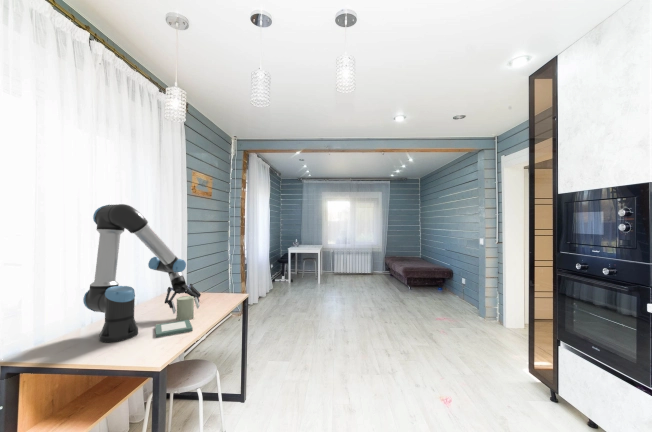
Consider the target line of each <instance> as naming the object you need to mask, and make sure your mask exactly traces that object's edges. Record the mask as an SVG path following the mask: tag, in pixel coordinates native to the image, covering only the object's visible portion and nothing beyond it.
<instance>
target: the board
mask: <svg viewBox="0 0 652 432" xmlns="http://www.w3.org/2000/svg"><path fill="white" fill-rule="evenodd" d="M154 329H155V338H161V337H166V336H171V335H178V334H183V333H189V332H193V326H192V323H191V322H190V319H188V320H177V321H170V322H164V323H158V324H155V327H154Z"/></svg>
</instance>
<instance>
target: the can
mask: <svg viewBox="0 0 652 432" xmlns="http://www.w3.org/2000/svg"><path fill="white" fill-rule="evenodd" d="M194 299H195V298H194V297H193V296H190V295H185V296H184V295H183V296H178V297H177V298H176V320H177V321H182V320H191V319H193V318H194V317H195V314H194V310H195V309H194V306H195V305H194V304H195V301H194Z"/></svg>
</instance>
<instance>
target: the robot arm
mask: <svg viewBox="0 0 652 432" xmlns="http://www.w3.org/2000/svg"><path fill="white" fill-rule="evenodd" d="M92 219H93V223H95V225H96V231H97V232H98V233H99V239H98V245H97V246H98V247H97V254H96V255H97V256H96V264H95V272H94V281H93V282H92V283H91V284H89V289H88V290H87V291H86V292H85V293H84V295H83V300H82V302H83V304H84V306H85V308H86V309H88V310H90V311H93V312H95V313H104V323H103V327H102V329H101V331H100V334H99V341H100V342H102V343H115V342H116V343H117V342H121V341H125V340H129V339H132V338H135V337H136V336H138V334H139V327H138V325H137V322H136V319H135V302H136V301H135V300H136V298H135V297H136V294H135V292H136V291H135V289H134V288H133V287H132V286H130V285H120V284H119V282H118V281H116V278H117V277H116V276H117V269H118V259H119V249H120V240H121V234H123V233H124V232H125V230H127V231H128V232H129V234H134V235H135V236H136V237H137V238H138V239H139V240H140V241H141V242H142V243H143V244H144V245H145V246H146V247H147V248H148V249H149V251H151V253H152V254H153V255H154V256H153V257H151V258H150V259H149V261H148V263H147V265H148V266H147V267H148V268H149V269H150V270H153V271H158V272H163V273H166V274H168V277H169V280H170V283H171V286H172V287H170V286H169V287H168V288H167V290H166V292H167V293H166V296H165V300H164V304H167V305H168V306H169V308H170V309H171V310H172V311H171V312H172V314H173V315H174V314H175V313H177V308H176V305H175V302H174V299H175V296H176V295H177V294H179V295H180V294H187V295H188V296H193V297H194V304H195V307H196V309H197V310H198V309H200V299H199V298H201V295H202V294H201V293H200V292H199V290H198V289H196V288H195V287H194V286H193V284H192V283H190V284H187V283H186V279H185V276H184V272H183V271H184V270H185V269H186V268H187V267H186V266H187V262H186V261H185V260H184V259H183V258H179V257H177V255H175V253H174V252H173V251H172V250H171V249H170V247H168V245H167V244H166V243H165V242H164V241H163V240H162V239H161V238H160V237H159V235H158V234H157V233H156V232H155V231H154V230H153V229H152V227H150V225H149V221H148V220H147V219H146V218H145V217H144V215H142V213H141V212H140V211H138V210H137V208H135V207H133V206H131V205H129V204H124V203H121V204H120V203H119V204H106V205H105V204H104V205H102V206H100V207H98V208H97V209H96V210H95V211H94V213H93V216H92ZM172 291H173V294H172V295H171V297H170V294H171V292H172Z"/></svg>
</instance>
